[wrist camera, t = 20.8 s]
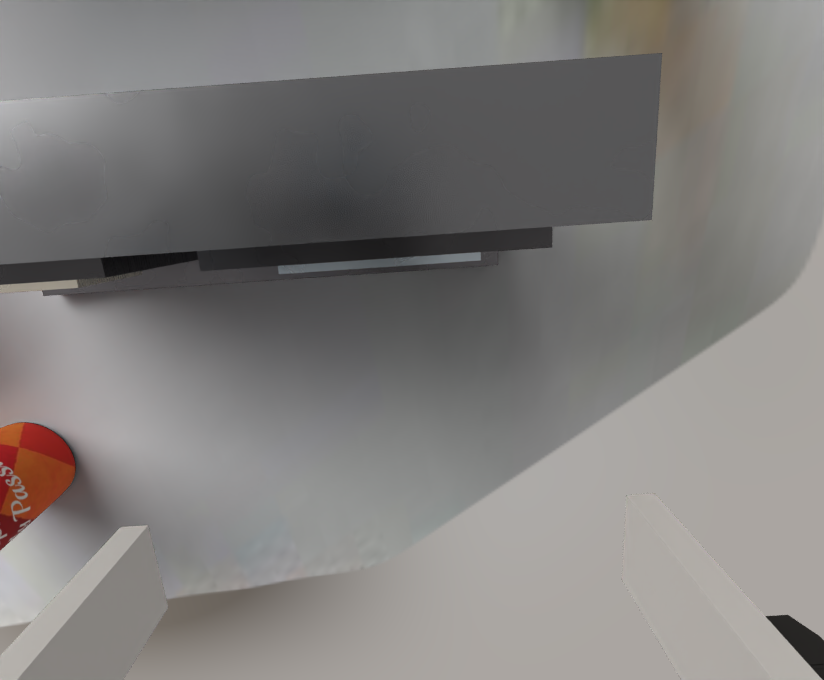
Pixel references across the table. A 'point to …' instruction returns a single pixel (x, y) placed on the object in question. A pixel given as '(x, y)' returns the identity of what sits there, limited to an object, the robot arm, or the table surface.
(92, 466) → the table surface
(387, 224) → the panel
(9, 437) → the paper cup
